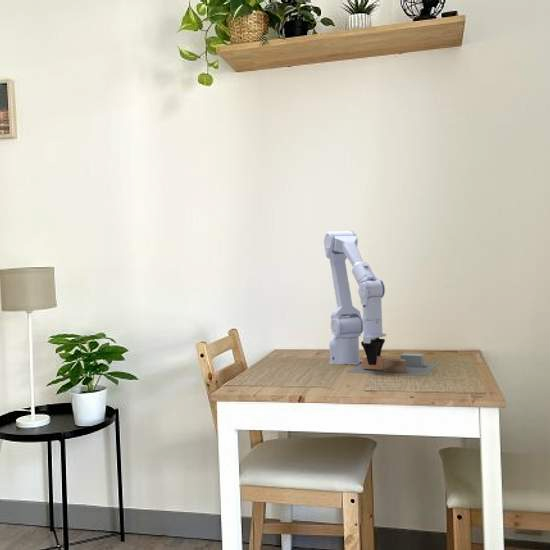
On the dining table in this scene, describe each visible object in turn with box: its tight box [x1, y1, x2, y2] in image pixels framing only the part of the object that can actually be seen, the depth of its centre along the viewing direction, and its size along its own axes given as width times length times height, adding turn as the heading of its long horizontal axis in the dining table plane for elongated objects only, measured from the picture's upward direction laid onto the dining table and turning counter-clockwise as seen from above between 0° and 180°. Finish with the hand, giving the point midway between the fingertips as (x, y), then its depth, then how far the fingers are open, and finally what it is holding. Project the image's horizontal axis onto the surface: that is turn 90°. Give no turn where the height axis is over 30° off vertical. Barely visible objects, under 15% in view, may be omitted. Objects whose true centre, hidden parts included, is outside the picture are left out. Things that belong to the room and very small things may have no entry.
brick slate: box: [400, 353, 425, 367], centre depth 194 cm, size 6×3×4 cm, turn 66°
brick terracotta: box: [361, 354, 386, 370], centre depth 191 cm, size 6×3×4 cm, turn 66°
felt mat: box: [346, 362, 439, 377], centre depth 193 cm, size 24×20×1 cm
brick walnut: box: [383, 358, 406, 375], centre depth 185 cm, size 6×3×4 cm, turn 86°
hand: (373, 363), depth 191 cm, fingers closed on brick terracotta, 3 cm apart
